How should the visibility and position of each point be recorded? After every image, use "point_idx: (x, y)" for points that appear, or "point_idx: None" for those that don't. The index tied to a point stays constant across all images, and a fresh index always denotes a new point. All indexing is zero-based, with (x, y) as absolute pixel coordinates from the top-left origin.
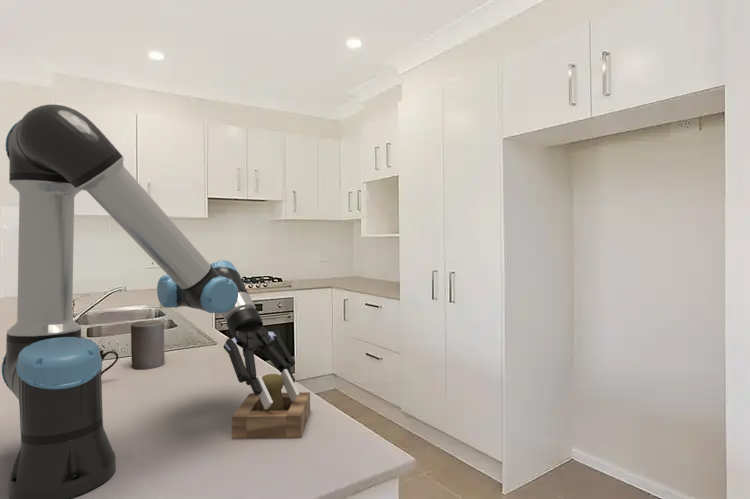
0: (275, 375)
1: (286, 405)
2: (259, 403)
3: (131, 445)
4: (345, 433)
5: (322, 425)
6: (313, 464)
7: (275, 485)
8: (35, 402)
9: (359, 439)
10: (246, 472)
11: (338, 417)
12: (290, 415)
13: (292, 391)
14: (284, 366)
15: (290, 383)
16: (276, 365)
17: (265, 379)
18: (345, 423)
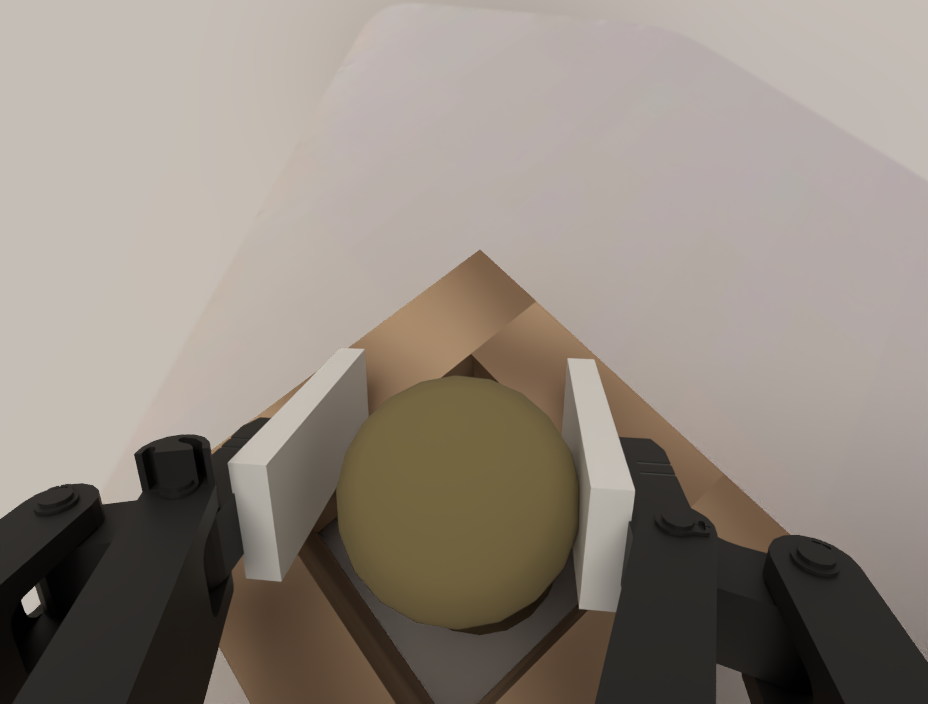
0: (421, 441)
1: (325, 569)
2: None
3: None
4: (340, 215)
5: (328, 336)
6: (596, 135)
7: (770, 121)
8: None
9: (353, 152)
10: (821, 240)
11: (212, 346)
12: (512, 291)
13: (352, 393)
14: (212, 497)
15: (331, 395)
16: (202, 660)
17: (547, 456)
18: (256, 278)
